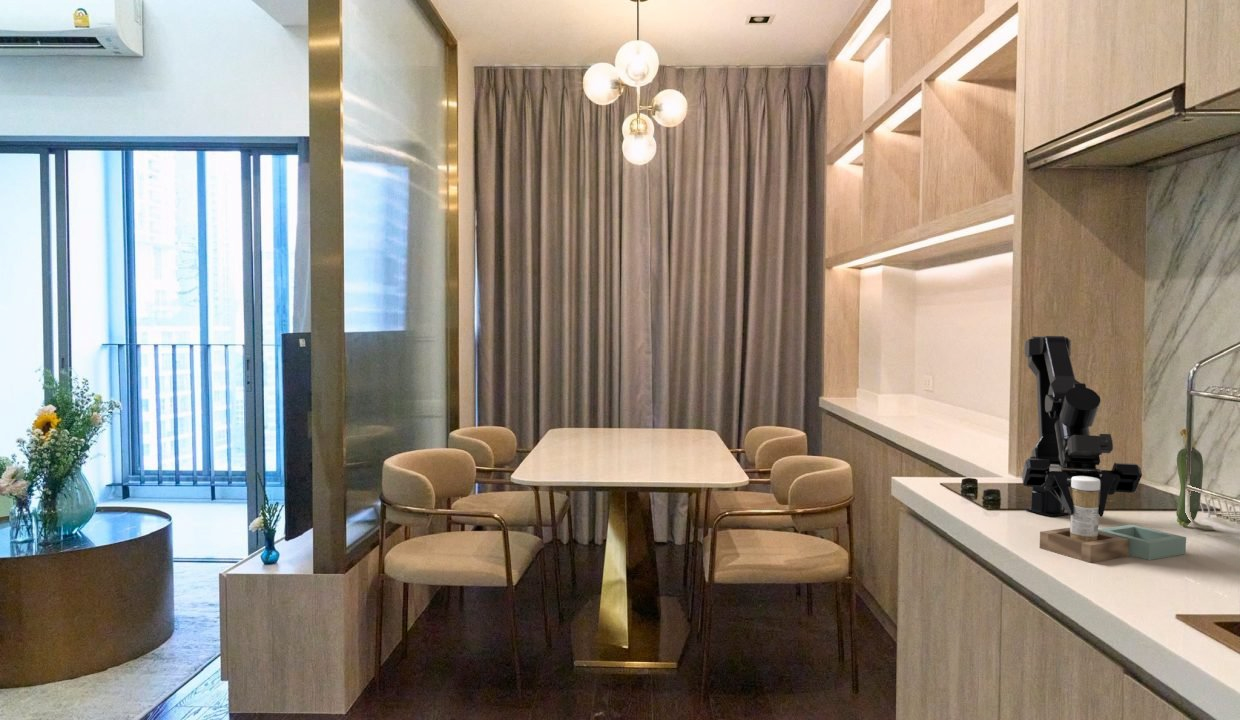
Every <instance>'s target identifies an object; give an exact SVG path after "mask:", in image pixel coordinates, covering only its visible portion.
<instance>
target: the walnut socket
mask: <svg viewBox="0 0 1240 720" xmlns="http://www.w3.org/2000/svg"><path fill="white" fill-rule="evenodd" d="M1070 533H1071V532H1070V527H1065V528H1056V529H1049V530H1041V531H1039V549H1042V550H1046V551H1048V550H1049V552H1053V553H1056V554H1059V555H1062V556H1063V555H1064V556H1067V557H1069V558H1074V559H1076V560H1079V561H1083V562H1087V563H1096V562H1103V561H1108V560H1114V559H1119V558H1120V559H1121V558H1126V557H1129V556H1130V555H1129V539H1126V538H1122V537H1118V536H1114V535H1110V534H1106V533H1102V532H1098V536H1097V541H1091V542H1087V541H1083V540H1079V539H1075V538H1072V537H1070V536H1071V534H1070Z"/></svg>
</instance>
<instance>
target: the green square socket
mask: <svg viewBox="0 0 1240 720" xmlns="http://www.w3.org/2000/svg"><path fill="white" fill-rule="evenodd" d="M1098 532H1102V533H1106V534H1110V535H1114V536H1118V537H1122V538H1126V539H1129V556H1132V557H1136V558H1140V559H1144V560H1147V561H1151V560H1157V559H1162V558H1163V559H1164V558H1169V557H1175V556H1180V555H1184V554H1185V555H1186V554H1187V552H1186V551H1187V550H1186V549H1187V537H1186V536H1183V535H1178V534H1174V533H1170V532H1165V531H1162V530H1158V529H1152V528H1148V527H1144V526H1140V525H1136V524H1126V525H1121V526H1120V525H1119V526H1112V527H1105V528H1098Z"/></svg>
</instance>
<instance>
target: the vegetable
mask: <svg viewBox="0 0 1240 720" xmlns="http://www.w3.org/2000/svg"><path fill="white" fill-rule="evenodd" d="M1187 430H1188V429H1186V428H1183V429H1181V430H1180V432H1179V435H1180V436H1181V437H1182V443H1183V445H1184V446H1185V447H1183V448H1181V449H1180V450H1179V451H1178V453H1177V455H1176V456H1177V457H1176V466H1177V467H1176V468H1177V473H1178V477H1179V479H1178V480H1179V483H1180V492H1179V496H1178V501H1177V507H1176V515H1175V516H1176V517H1177V518H1176V522H1177V523H1179V526H1183V527H1184V528H1185V527H1187V526H1189V525H1190V524H1191V523H1192V522H1191V521H1190V520H1189V519H1188V517H1187V515H1186V513H1185V479H1186V459H1187V457H1186V455H1187V448H1186V441H1187ZM1203 477H1204V460H1203V456H1202V453H1201V452H1200V451H1199V450H1198V449H1196V442H1195V438H1194V436H1193V435H1192V451H1191V474H1190V485H1191V486H1192V487H1196V488H1199V489H1201V490H1202V489H1203ZM1190 495H1191V496H1190V512H1191V517H1192V519H1193V520H1194V521H1195V520H1196V518H1197V515H1198V512H1199V508H1200V504H1201V498H1202V497H1201V496H1202V492H1201V493H1198V492H1195V491H1191V494H1190Z"/></svg>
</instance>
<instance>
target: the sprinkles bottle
mask: <svg viewBox="0 0 1240 720" xmlns="http://www.w3.org/2000/svg"><path fill="white" fill-rule="evenodd" d="M1070 488H1071V499H1072V503H1073V510H1074V513H1073V515H1070V525H1069V528H1070V532H1071V533H1070V534H1071V536H1070V537H1072V538H1075V539H1079V540H1083V541H1087V542H1091V541H1097V536H1098V529H1099V520H1100V519H1099V517H1100V516H1099V492H1100V491H1099V490H1100V480H1099V479H1098V478H1094V477H1088V476H1074V477H1072V478H1071V487H1070Z"/></svg>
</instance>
